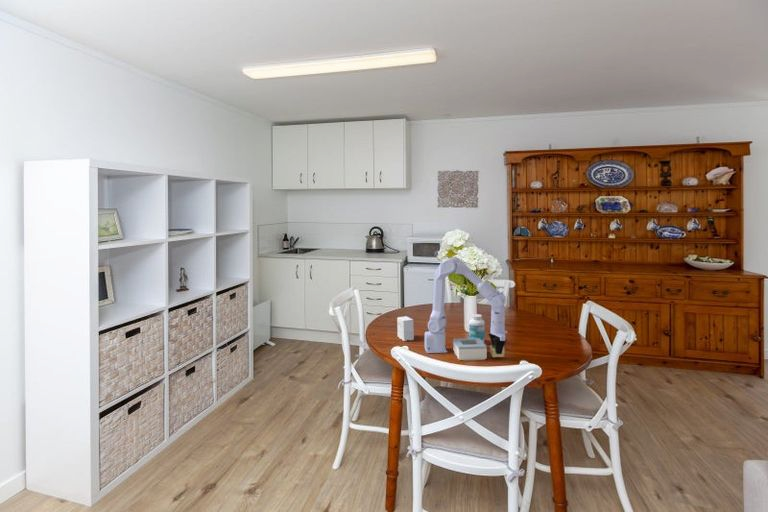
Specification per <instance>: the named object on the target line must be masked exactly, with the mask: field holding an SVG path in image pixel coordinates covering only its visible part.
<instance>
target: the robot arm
mask: <svg viewBox="0 0 768 512" xmlns="http://www.w3.org/2000/svg"><path fill="white" fill-rule="evenodd" d="M453 272H454V274H456V275H463V276H464V277H465V278H466V279H467V280H469V281H470V282H471V283H472V284H473V285H475V286H476V289H477V290H476V291H477V292H478V293H479V294H481V295H482V296H483V297H484V298H485V299H486V300H487V301H489V305H490V306H491V310H490V330H489V331H490V332H489V333H488V337H489V339H490V342H491V345H495V349H496V354H502V350H503V347H504V348H505V344H506V342H507V341H508V338H506V334H508V331H507V330H505V328H506V327H505V326H506V325H505V324H506V323H505V322H506V310H505V308H506V306H505V305H506V302H507V297H506V295H505V294H504V293H503V292H500V290H499V289H496V288H495V287H494V286H492V282H491V281H487V280H482V279H481V278H480V277H479V276H478V275H477V274H476V273H475V272H474V271H473V270H472V269H471V268H470V267H469V266H468V264H466V263H465V262H464V261H463V260H461V259H460V258H459V257H456V256H451V257H450V258H446V259H444V260H442V261H441V262H440V263H439V265H438V267H437V268H436V269H435V271H434V274H433V290H432V292H433V293H432V309H431V310H432V311H431V314H430V316H429V321H428V322H427V329H428V331H425V332H424V350H425V352H426V353H427V354H436V353H437V354H439V353H440V354H441V353H442V354H443V353H448V350H447V348H446V329H445V328H446V327H447V324H448V323H447V322H448V321H447V318H446V312H445V295H446V277H448V276H449V275H451V273H452V274H453Z"/></svg>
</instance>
